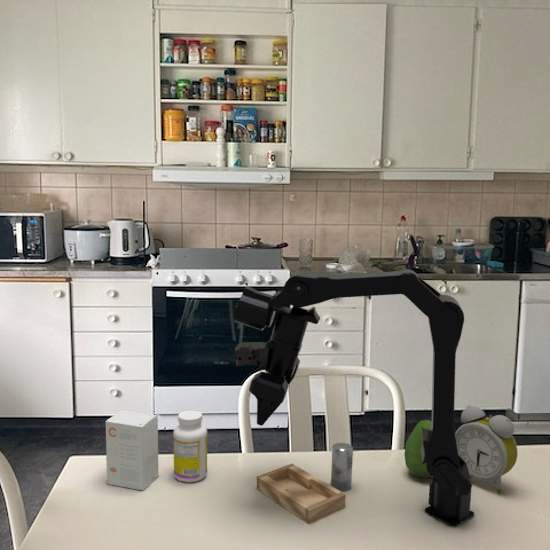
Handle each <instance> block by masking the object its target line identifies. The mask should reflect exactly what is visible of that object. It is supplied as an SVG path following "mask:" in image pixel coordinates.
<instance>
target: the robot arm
mask: <svg viewBox="0 0 550 550" xmlns="http://www.w3.org/2000/svg"><path fill="white" fill-rule="evenodd" d="M389 295H392V296H393V295H403V296H405V297H406V298H407V299H408V300H409V301H410V302H411V303H412V304H413V305H414V306H416V308H417V309H419V310H420V311H421V313H422V314H424V315H425V316H426V317H427V320H428V326H429V330H430V337H431V342H432V384H431V385H432V389H431V393H432V395H431V420H430V421H431V424H430V427H429V430H428V429H424V428H422V429H421V430H422V439H423V443H422V445H421V455H422V463H423V464H425V463H426V467H427V471H428V473H429V474H430V475H431V476H432V477H431V483H429V490H428V491H429V492H428V502H427V503H428V505H429V506H427V507H425V508H424V513H426V514H428V515H430V516H432V517H433V518H435V519H438V520H439V521H441V522H443V523H444V524H447V525H449V526H450V527H453V528H455V527H458V526H459V525H461V524H463V523H464V522H466V521H468V520H469V519H471V518H473V517H475V512H474V511H473V510H471V497H472V488H473V484H472V480H471V475H469V472H468V468H467V464H466V462H465V461H464V460H463V459H462V458H461V457H460V456H459V455H458V449H457V444H456V438H455V433H456V432H455V426H454V425H455V396H456V395H455V393H456V392H455V391H456V390H455V389H456V387H455V386H456V359H457V356H456V353H457V350H458V347H459V343H460V340H461V336H462V332H463V327H464V322H465V313H464V312H463V309H462V307H461V305H460V304H459V302H458V301H457V300H456V298H455V297H453V296H451V295H449V294H442V293H440V292H439V291H437V289H435V288H434V287H433V286H431V285H430V284H429V283H428V282H426V281H425V280H424V279H422V278H421V277H420V276H418V274H417V273H416V272H415V271H414V270H412V269H409V268H408V269H407V268H404V269H402V270H396V271H394V270H393V271H378V272H376V271H375V272H362V273H349V274H347V273H346V274H345V273H344V274H333V273H332V274H331V273H326V272H322V271H313V270H305V269H304V270H303V269H302V270H299V271H296V272H293V274H291V276H290V277H289V278H287V280H286V281H285V283H284V285H283V288H282V289H280V290H277V291H276V292H275V293H274V294H273V295H271V294H268V293H266V292H262V291H260V290H257V289H255V288H253V287H250V286H246V287H245V288H243V291H242V294H241V296H240V298H239V301H238V302H237V304H236V306H235V308H234V311H233V317H232V320H233V322H234V323H238V324H241V325H245V326H246V327H250V328H254V329H256V330H259V331H264V329H266V328H267V327H268V328H271V326H272V324H273V322H274V325H273V329H272V333H271V336H270V337H269V339H268V341H266V342H262V341H256V342H255V341H251V342H240V343H239V344H237V345H236V346H235V348H234V355H233V359H234V360H235V364H236V366H237V367H243V366H249V365H251V366H252V365H253V366H254V365H259V367H258V369H261V370H263V371H260V372H258V373H256V374H254V376H253V378H252V379H251V381H250V384H249V385H250V386H249V390H248V391H249V393H251V395H252V396H254V397H255V398H256V425H258V426H261V427H262V426H264V424H265V423H266V422H267V421H268V420H269V419H270V417H271V416H272V415H273V414H274V413H275V411H276V410H277V409H278V408H279V407H280V406H281V404H283V403H284V400H285V398H286V396H287V393H288V390H289V385H290V384H291V383H292V382H293V379H294V378H295V377H296V374H297V372H298V370H299V366H300V363H301V361H300V358H299V355H300V352H301V349H302V346H303V344H302V343H303V341H304V338H305V337H304V336H305V334H306V330H307V327H308V324H309V323H311V324H314V325H318V323H319V322H320V320H321V316H320V315H319V313H318V312H317V309H316V307H315V306H313V305H318V304H321V303H324V302H328V301H330V300H334V299H339V298H341V299H343V298H359V297H360V298H361V297H373V296H389ZM288 306H292V307H288ZM309 306H312V307H311V308H309V309H307V308H304V307H309ZM276 312H277V316H276V317H275V315H276ZM275 318H276V319H275ZM274 319H275V321H274Z"/></svg>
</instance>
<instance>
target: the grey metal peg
mask: <svg viewBox="0 0 550 550" xmlns="http://www.w3.org/2000/svg"><path fill="white" fill-rule="evenodd" d="M331 448H332V449H331V450H332V452H331V469H330V470H331V471H330V472H331V474H330V486H332V487H334V488H335V489H337V490H339V491H341V492H347V491H350V489H352V483H353V482H352V480H353V479H352V478H353V461H354V460H353V457H354V456H353V455H354V447H353V446H352V445H351V444H349V443H345V442H337V443H334V444H332V447H331Z"/></svg>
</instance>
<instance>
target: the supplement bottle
mask: <svg viewBox="0 0 550 550" xmlns="http://www.w3.org/2000/svg"><path fill="white" fill-rule="evenodd" d="M177 418H178V419H177V421H178V425H177V426H176V427H174V429H173V435H172V436H173V476H174V477H175V479H176V480H178V481H180V482H184V483H194V482H195V483H196V482H199V481H201V480H202V479H204V478H206V476H207V473H208V429H207V428H206V426H205V424H203V423H202V422H203V414H202V412H201V411H198V410H185V411H182V412H180V413H178V417H177Z"/></svg>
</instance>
